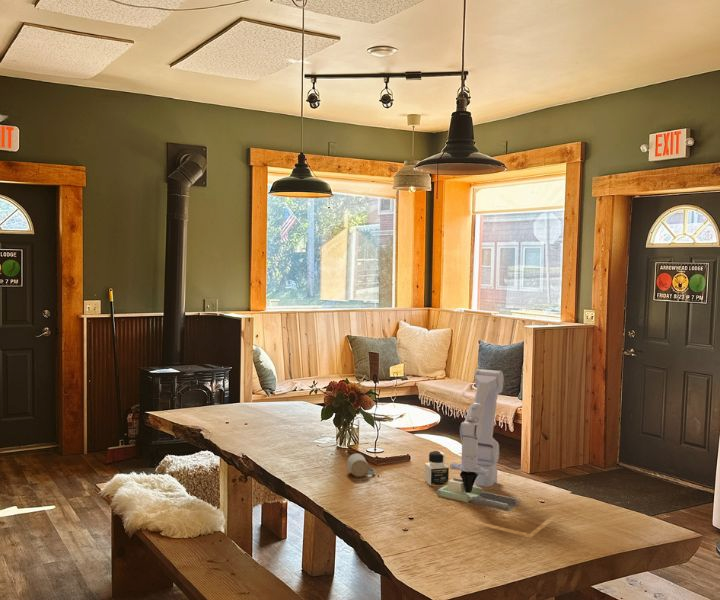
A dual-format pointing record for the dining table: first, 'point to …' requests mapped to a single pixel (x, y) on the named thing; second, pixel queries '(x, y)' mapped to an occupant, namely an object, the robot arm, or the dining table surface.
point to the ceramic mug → (359, 466)
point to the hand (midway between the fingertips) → (468, 492)
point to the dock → (494, 501)
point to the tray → (457, 496)
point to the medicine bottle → (436, 469)
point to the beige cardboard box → (456, 486)
